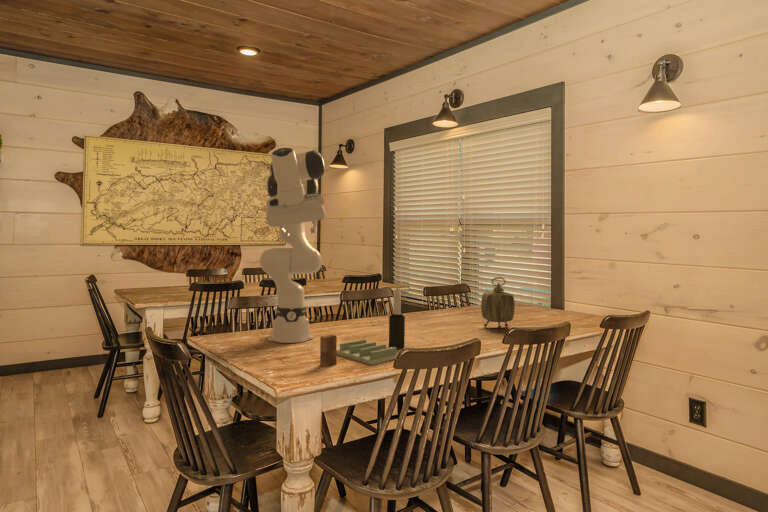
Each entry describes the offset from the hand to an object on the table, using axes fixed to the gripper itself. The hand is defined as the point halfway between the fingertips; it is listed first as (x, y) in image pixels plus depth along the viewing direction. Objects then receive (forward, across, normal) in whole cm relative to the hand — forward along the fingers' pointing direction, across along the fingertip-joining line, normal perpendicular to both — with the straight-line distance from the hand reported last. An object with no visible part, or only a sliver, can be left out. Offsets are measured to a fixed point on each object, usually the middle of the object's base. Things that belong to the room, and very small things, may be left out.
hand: (300, 234), depth 171 cm
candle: (+54, -27, -6) cm, 61 cm away
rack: (+48, -17, +8) cm, 51 cm away
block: (+42, -4, +19) cm, 46 cm away
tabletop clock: (+75, -77, -46) cm, 117 cm away
